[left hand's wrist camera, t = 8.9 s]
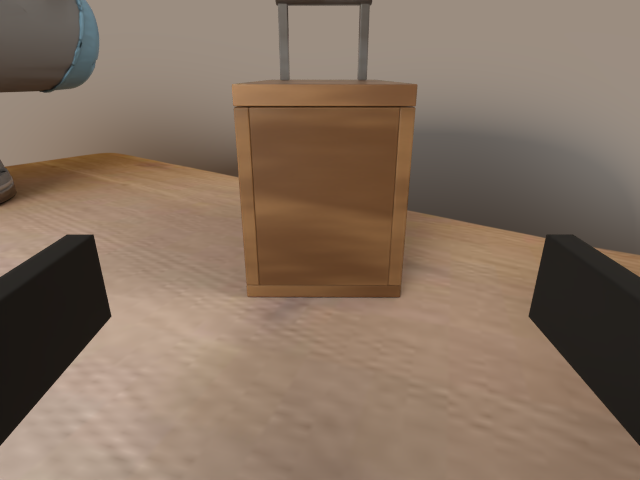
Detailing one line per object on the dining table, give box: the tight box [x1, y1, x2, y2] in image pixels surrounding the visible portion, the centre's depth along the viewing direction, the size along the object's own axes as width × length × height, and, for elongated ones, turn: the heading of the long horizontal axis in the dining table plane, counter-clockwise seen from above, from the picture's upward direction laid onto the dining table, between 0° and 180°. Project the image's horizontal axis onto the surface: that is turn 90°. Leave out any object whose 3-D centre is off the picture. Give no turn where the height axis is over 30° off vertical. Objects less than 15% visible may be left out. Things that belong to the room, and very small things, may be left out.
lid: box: [232, 0, 417, 106], centre depth 28 cm, size 18×9×8 cm, turn 0°
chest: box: [234, 106, 415, 297], centre depth 31 cm, size 17×9×11 cm, turn 0°
